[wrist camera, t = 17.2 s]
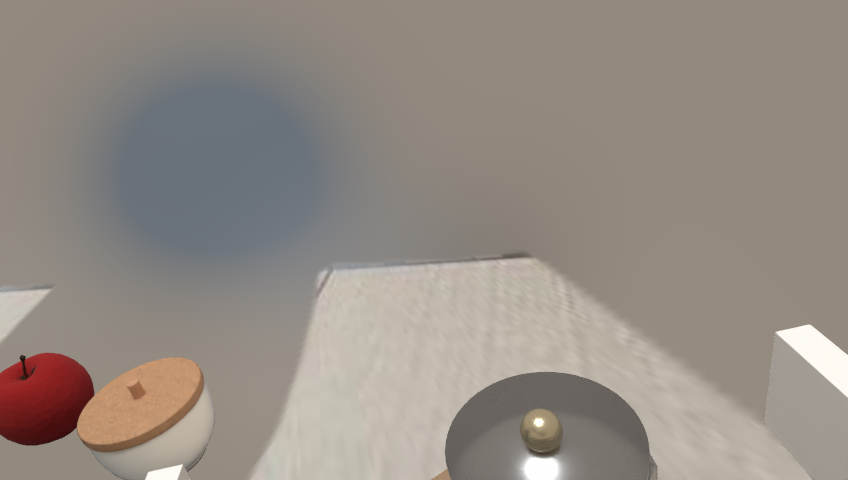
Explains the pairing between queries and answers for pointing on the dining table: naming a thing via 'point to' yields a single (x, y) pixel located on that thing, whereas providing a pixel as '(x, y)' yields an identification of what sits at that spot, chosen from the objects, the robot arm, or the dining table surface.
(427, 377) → the dining table surface
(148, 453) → the lidded jar
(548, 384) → the silver lidded pot
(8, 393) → the apple
